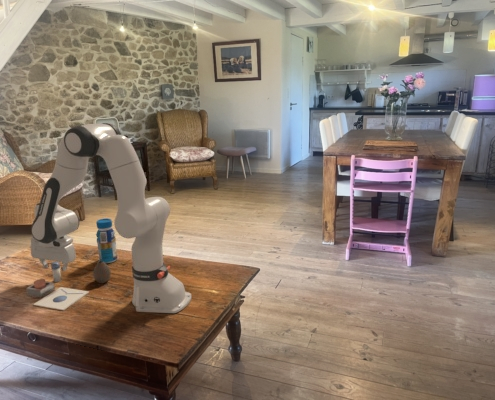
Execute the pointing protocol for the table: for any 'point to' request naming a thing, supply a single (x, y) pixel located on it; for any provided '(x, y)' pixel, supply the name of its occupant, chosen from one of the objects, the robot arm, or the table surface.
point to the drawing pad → (61, 298)
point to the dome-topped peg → (56, 271)
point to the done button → (39, 283)
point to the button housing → (40, 290)
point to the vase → (101, 272)
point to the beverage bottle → (106, 241)
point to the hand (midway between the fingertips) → (55, 269)
